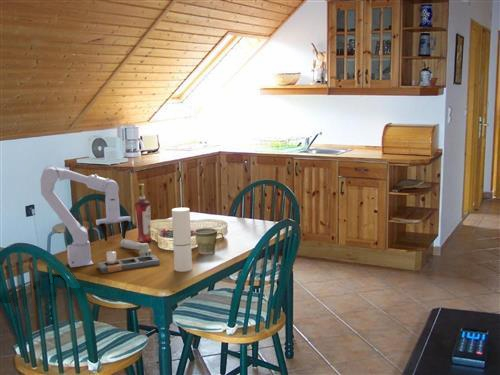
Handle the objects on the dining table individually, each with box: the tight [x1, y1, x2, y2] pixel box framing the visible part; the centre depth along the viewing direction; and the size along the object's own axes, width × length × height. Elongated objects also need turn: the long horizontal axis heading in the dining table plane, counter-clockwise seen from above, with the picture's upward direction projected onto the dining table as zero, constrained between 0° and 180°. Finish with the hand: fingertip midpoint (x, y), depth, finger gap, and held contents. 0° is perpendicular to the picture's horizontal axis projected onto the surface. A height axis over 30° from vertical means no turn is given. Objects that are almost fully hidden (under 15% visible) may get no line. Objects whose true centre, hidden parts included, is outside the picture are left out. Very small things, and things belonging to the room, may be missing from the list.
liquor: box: [134, 183, 153, 244], centre depth 296 cm, size 7×7×28 cm
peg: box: [106, 250, 118, 266], centre depth 257 cm, size 4×4×7 cm
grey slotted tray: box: [97, 254, 161, 274], centre depth 260 cm, size 24×9×2 cm, turn 114°
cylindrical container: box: [171, 207, 193, 273], centre depth 252 cm, size 7×7×25 cm
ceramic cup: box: [194, 227, 224, 255], centre depth 276 cm, size 13×10×10 cm
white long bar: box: [119, 238, 152, 257], centre depth 281 cm, size 5×7×25 cm
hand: (114, 239), depth 268 cm, fingers open, 7 cm apart
